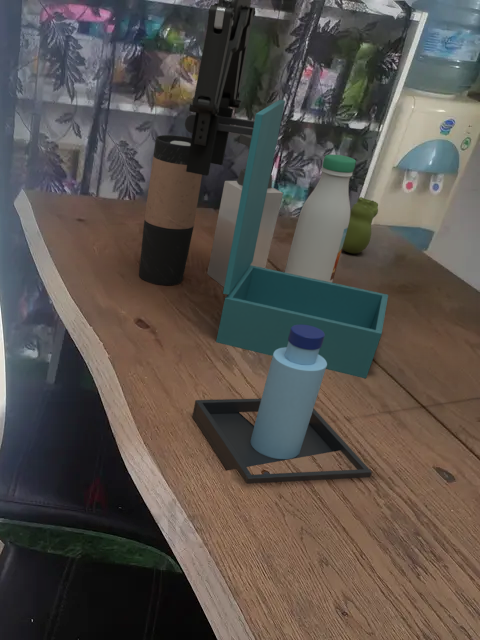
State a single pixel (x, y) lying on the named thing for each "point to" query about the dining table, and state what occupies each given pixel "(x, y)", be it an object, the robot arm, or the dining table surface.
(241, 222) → the lid
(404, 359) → the dining table surface
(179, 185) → the travel mug
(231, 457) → the tray
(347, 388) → the dining table surface
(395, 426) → the dining table surface
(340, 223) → the milk bottle
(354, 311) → the teal box
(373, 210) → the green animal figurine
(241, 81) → the robot arm
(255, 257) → the soap dispenser
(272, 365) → the water bottle
